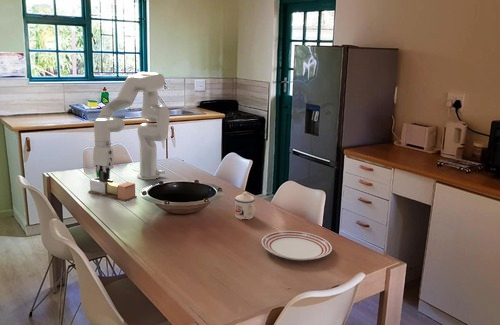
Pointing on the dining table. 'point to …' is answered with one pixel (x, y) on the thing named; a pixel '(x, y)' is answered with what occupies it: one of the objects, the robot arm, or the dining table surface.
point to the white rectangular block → (98, 185)
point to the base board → (112, 196)
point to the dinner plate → (296, 245)
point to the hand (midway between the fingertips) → (103, 178)
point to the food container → (98, 172)
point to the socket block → (126, 190)
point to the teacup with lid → (244, 206)
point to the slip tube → (109, 185)
